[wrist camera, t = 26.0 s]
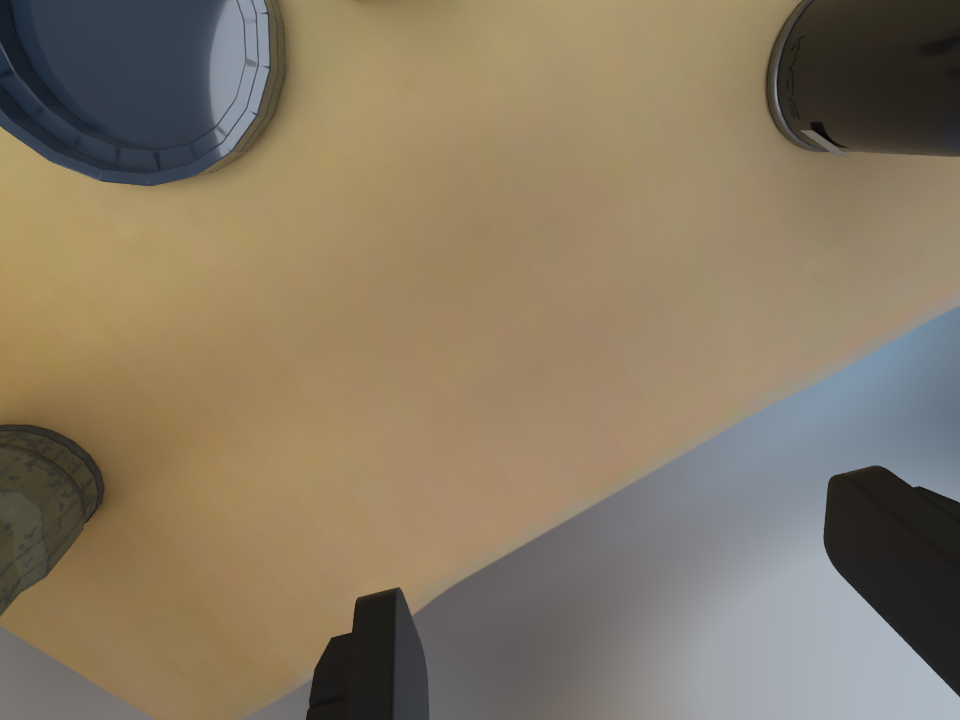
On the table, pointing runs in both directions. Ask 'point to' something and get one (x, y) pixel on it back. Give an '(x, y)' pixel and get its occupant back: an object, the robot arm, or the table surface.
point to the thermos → (40, 503)
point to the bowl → (140, 83)
